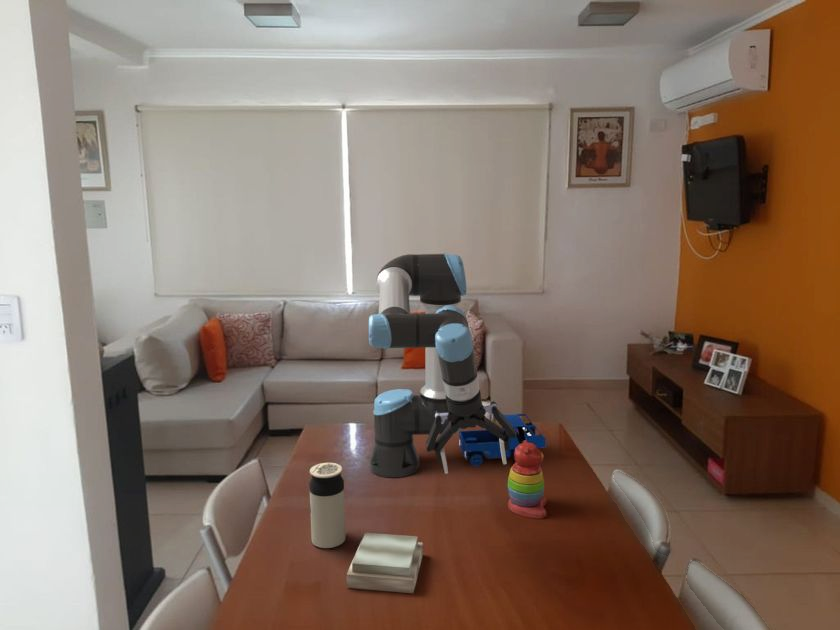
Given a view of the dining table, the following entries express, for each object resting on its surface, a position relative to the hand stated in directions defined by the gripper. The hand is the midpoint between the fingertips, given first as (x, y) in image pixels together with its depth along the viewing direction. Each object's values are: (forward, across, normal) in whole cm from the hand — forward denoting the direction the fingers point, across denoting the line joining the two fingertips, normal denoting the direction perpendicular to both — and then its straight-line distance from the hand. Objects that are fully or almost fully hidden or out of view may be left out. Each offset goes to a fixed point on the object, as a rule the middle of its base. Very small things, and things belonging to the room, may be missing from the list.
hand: (475, 465), depth 139 cm
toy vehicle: (+36, +9, +39) cm, 53 cm away
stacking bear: (+25, +11, +8) cm, 29 cm away
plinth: (+10, -23, -17) cm, 30 cm away
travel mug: (+12, -37, -5) cm, 39 cm away
